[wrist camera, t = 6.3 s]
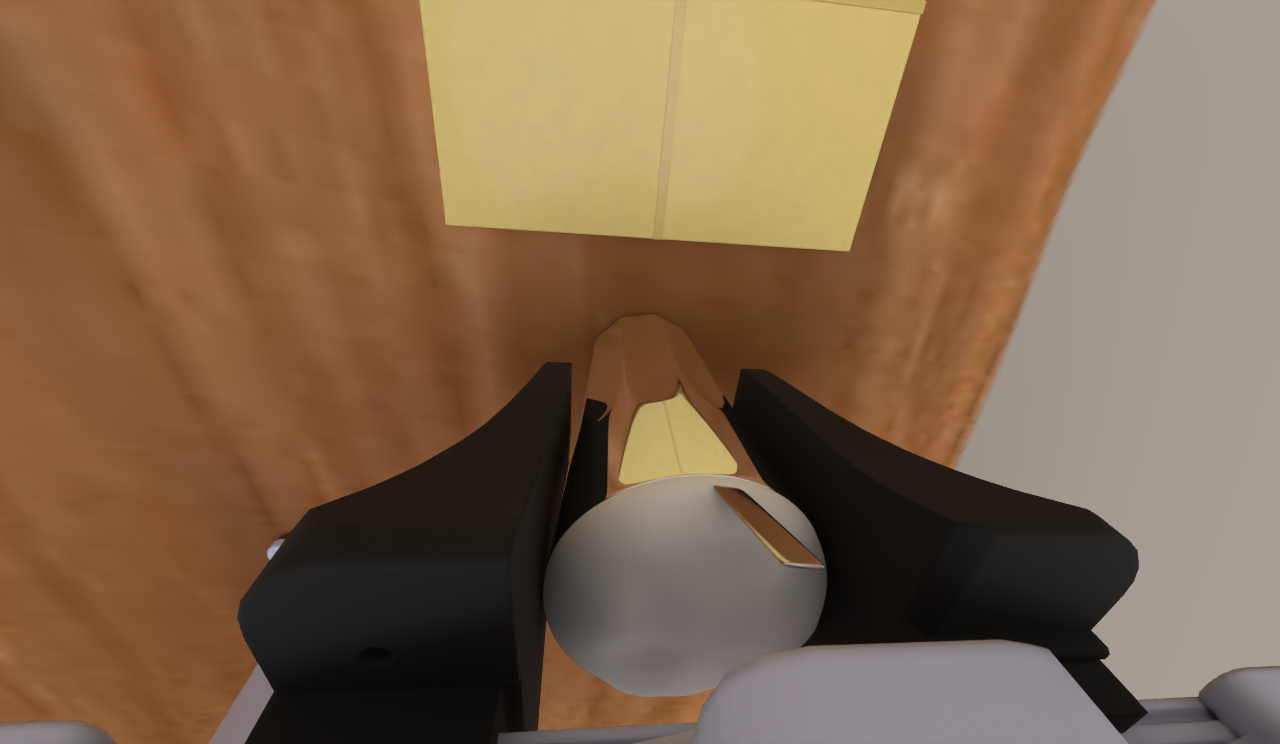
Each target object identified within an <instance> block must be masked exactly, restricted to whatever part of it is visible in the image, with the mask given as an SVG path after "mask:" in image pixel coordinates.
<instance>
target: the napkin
mask: <svg viewBox="0 0 1280 744" xmlns="http://www.w3.org/2000/svg"><path fill="white" fill-rule="evenodd" d="M419 2H420V11H421V19H422V28H423V36H424V44H425V53H426V61H427V70H428V78H429V87H430V95H431V104H432V112H433V120H434V129H435V137H436V146H437V154H438V163H439V171H440V180H441V188H442V196H443V205H444V213H445V222H446V225H451V226H467V227H482V228H497V229H512V230H528V231H543V232H558V233H573V234H588V235H604V236H619V237H634V238H649V239H655V240H662V239H665V240H680V241H695V242H710V243H725V244H741V245H756V246H771V247H786V248H802V249H817V250H832V251H847V252H848V251H850V248H851V244H852V241H853V238H854V234H855V231H856V228H857V224H858V221H859V218H860V214H861V211H862V208H863V204H864V201H865V198H866V195H867V191H868V188H869V185H870V181H871V178H872V175H873V171H874V168H875V165H876V161H877V158H878V155H879V151H880V148H881V145H882V142H883V138H884V135H885V132H886V128H887V125H888V122H889V118H890V115H891V112H892V108H893V105H894V102H895V98H896V95H897V92H898V89H899V85H900V82H901V79H902V75H903V72H904V69H905V65H906V62H907V59H908V55H909V52H910V49H911V45H912V42H913V39H914V36H915V32H916V29H917V26H918V22H919V19H920V16H921V15H922V14H923V11H924V8H925V5H926V1H925V0H419Z"/></svg>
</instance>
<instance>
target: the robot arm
mask: <svg viewBox="0 0 1280 744" xmlns="http://www.w3.org/2000/svg"><path fill="white" fill-rule="evenodd" d="M571 370H572V363H560V362H546V363H545V364H544V365H543V366H542V367H541V368H540V369H539V371H538V372H537V373H536V374H535V375H534V377H533V378H532V379H531V380H530V381H529V382H528V383H527V384H526V386H525V387H524V388H523V389H522V390H521V391H520V392H519V393H518V394H517V395H516V396H515V397H514V398H513V399H512V400H511V401H510V402H509V403H508V404H507V405H506V406H505V407H504V408H502V409H501V410H500V411H499V412H498V413H497V414H496V415H495V416H493V417H492V418H491V419H490V420H489V421H488V422H486V423H485V424H484V425H483V426H481V427H480V428H479V429H477V430H476V431H474V432H473V433H472V434H470V435H469V436H467V437H466V438H464V439H463V440H461V441H460V442H458V443H457V444H455V445H453V446H451V447H450V448H448V449H446V450H445V451H443V452H441V453H439V454H438V455H436V456H434V457H432V458H431V459H429V460H427V461H425V462H424V463H422V464H420V465H418V466H416V467H414V468H411V469H409V470H407V471H405V472H403V473H401V474H399V475H397V476H394V477H392V478H390V479H388V480H386V481H383V482H381V483H379V484H376V485H374V486H371V487H369V488H367V489H364V490H361V491H358V492H356V493H353V494H350V495H348V496H345V497H342V498H340V499H337V500H334V501H332V502H329V503H326V504H323V505H320V506H317V507H314V508H311V509H309V511H308V512H307V513H306V514H305V515H304V517H303V518H302V519H301V520H300V521H299V523H298V524H297V525H296V526H295V527H294V528H293V530H292V531H291V532H290V533H289V534H288V536H287V537H286V539H279V540H276V541H274V542H273V544H272V545H271V546H270V548H269V549H268V551H267V556H268V558H269V560H270V561H269V562H268V564H267V565H266V566H265V568H264V569H263V570H262V572H261V573H260V575H259V576H258V577H257V579H256V580H255V581H254V583H253V584H252V586H251V587H250V588H249V590H248V591H247V592H246V594H245V595H244V597H243V598H242V599H241V601H240V606H239V612H238V617H237V618H238V621H239V625H240V628H241V631H242V634H243V637H244V639H245V641H246V643H247V645H248V646H249V648H250V650H251V652H252V654H253V655H254V657H255V659H256V661H257V662H258V664H257V666H256V667H255V669H254V671H253V672H252V674H251V675H250V677H249V679H248V680H247V682H246V683H245V685H244V687H243V688H242V690H241V691H240V693H239V695H238V696H237V698H236V699H235V701H234V703H233V704H232V706H231V707H230V709H229V711H228V712H227V714H226V716H225V717H224V719H223V720H222V722H221V724H220V725H219V727H218V728H217V730H216V732H215V733H214V735H213V736H212V738H211V740H210V741H209V743H208V744H1280V666H1270V667H1247V668H1239V669H1235V670H1231V671H1229V672H1226V673H1223V674H1221V675H1220V676H1218V677H1217V678H1215V679H1213V680H1212V681H1211V682H1209V683H1208V684H1207V685H1206V686H1205V687H1204V688H1203V689H1202V690H1201V691H1200V692H1199V697H1185V698H1165V699H1146V700H1136V698H1135V697H1134V696H1133V695H1132V694H1131V693H1130V692H1129V691H1128V690H1127V689H1126V688H1125V686H1124V685H1123V684H1121V682H1120V681H1119V680H1118V679H1117V678H1116V677H1115V676H1114V675H1113V673H1112V672H1110V670H1109V669H1108V668H1107V667H1106V666H1105V665H1104V664H1103V663H1102V662H1101V661H1100V659H1106V658H1107V657H1108V655H1110V654H1109V650H1108V647H1107V646H1106V645H1105V644H1104V643H1103V642H1102V641H1101V640H1100V639H1099V638H1098V637H1097V636H1096V635H1095V634H1094V633H1093V632H1092V631H1091V630H1092V628H1093V627H1094V626H1095V625H1096V624H1097V623H1098V622H1099V621H1100V620H1101V619H1102V618H1103V617H1104V616H1105V615H1106V613H1107V612H1108V611H1109V610H1110V609H1111V608H1112V607H1113V606H1114V605H1115V604H1116V603H1117V601H1118V600H1119V599H1120V598H1121V597H1122V596H1123V595H1124V594H1125V592H1126V591H1127V590H1128V588H1129V587H1130V585H1131V584H1132V583H1133V582H1134V579H1135V577H1136V574H1137V571H1138V569H1139V561H1138V551H1137V549H1136V548H1135V547H1134V546H1133V545H1132V543H1131V542H1130V541H1129V540H1128V539H1127V538H1125V537H1124V536H1123V535H1122V534H1120V533H1119V532H1118V531H1117V530H1115V529H1114V528H1113V527H1112V526H1110V525H1109V524H1108V523H1107V522H1105V521H1104V520H1103V519H1101V518H1100V517H1099V516H1098V515H1096V514H1095V513H1093V512H1091V511H1090V510H1087V509H1084V508H1081V507H1077V506H1073V505H1069V504H1065V503H1062V502H1058V501H1054V500H1050V499H1046V498H1043V497H1039V496H1035V495H1032V494H1028V493H1024V492H1020V491H1017V490H1013V489H1010V488H1007V487H1004V486H1000V485H997V484H994V483H991V482H988V481H985V480H982V479H979V478H976V477H973V476H970V475H967V474H964V473H962V472H959V471H956V470H953V469H951V468H948V467H945V466H943V465H940V464H938V463H935V462H933V461H930V460H928V459H925V458H923V457H920V456H918V455H916V454H913V453H911V452H909V451H906V450H904V449H902V448H900V447H898V446H896V445H893V444H891V443H889V442H887V441H885V440H883V439H881V438H879V437H877V436H875V435H873V434H871V433H869V432H867V431H865V430H863V429H861V428H860V427H858V426H856V425H854V424H853V423H851V422H849V421H847V420H846V419H844V418H842V417H840V416H839V415H837V414H835V413H834V412H832V411H830V410H829V409H827V408H825V407H824V406H822V405H821V404H819V403H818V402H816V401H814V400H813V399H811V398H810V397H808V396H807V395H805V394H804V393H802V392H800V391H799V390H797V389H796V388H794V387H793V386H791V385H790V384H788V383H787V382H785V381H783V380H782V379H780V378H779V377H777V376H775V375H774V374H772V373H770V372H768V371H766V370H760V369H741V372H740V377H739V381H738V386H737V390H736V395H735V400H734V404H733V410H734V412H735V413H736V415H737V416H738V418H739V419H740V421H741V422H742V424H743V425H744V427H745V428H746V430H747V431H748V433H749V434H750V436H751V437H752V439H753V440H754V442H755V443H756V444H757V446H758V447H759V449H760V450H761V452H762V453H763V455H764V456H765V458H766V459H767V461H768V462H769V463H770V465H771V466H772V468H773V469H774V471H775V472H776V474H777V475H778V477H779V478H780V480H781V481H782V483H783V484H784V485H785V487H786V488H787V490H788V491H789V493H790V494H791V496H792V497H793V499H794V500H795V502H796V503H797V505H798V506H799V507H800V509H801V510H802V512H803V513H804V515H805V516H806V517H807V519H808V520H809V522H810V523H811V525H812V526H813V528H814V530H815V533H816V535H817V537H818V540H819V542H820V545H821V548H822V551H823V554H824V558H825V563H826V569H827V589H826V597H825V601H824V605H823V609H822V612H821V615H820V618H819V621H818V624H817V627H816V629H815V631H814V632H813V634H812V635H811V636H810V638H809V639H808V640H807V641H806V642H805V643H804V644H803V645H802V646H801V647H800V648H795V649H789V650H784V651H778V652H773V653H768V654H763V655H761V656H759V657H757V658H755V659H753V660H751V661H750V662H748V663H746V664H744V665H742V666H740V667H738V668H736V669H734V670H732V671H730V672H728V673H727V674H726V675H725V676H724V678H723V679H722V680H721V682H720V683H719V684H718V685H717V687H716V688H715V689H714V691H713V692H712V693H711V695H710V696H709V697H708V699H707V700H706V702H705V703H704V705H703V706H702V709H701V712H700V716H699V719H698V723H682V724H663V725H644V726H624V727H605V728H586V729H566V730H547V731H538V719H539V706H540V693H541V680H542V667H543V654H544V642H545V630H546V615H545V610H544V603H543V586H544V578H545V573H546V569H547V565H548V560H549V555H550V550H551V546H552V542H553V537H554V533H555V528H556V524H557V520H558V515H559V511H560V506H561V501H562V496H563V491H564V485H565V480H566V475H567V469H568V464H569V450H570V435H571ZM0 744H116V743H115V741H114V740H113V738H112V737H111V736H110V735H109V734H108V733H107V732H106V731H104V730H103V729H101V728H100V727H98V726H96V725H93V724H89V723H86V722H82V721H73V720H48V721H25V722H3V723H0Z"/></svg>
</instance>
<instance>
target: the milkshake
mask: <svg viewBox="0 0 1280 744" xmlns="http://www.w3.org/2000/svg"><path fill="white" fill-rule="evenodd" d="M826 589H827V569H826V563H825V558H824V554H823V551H822V548H821V545H820V542H819V540H818V537H817V535H816V533H815V530H814V528H813V526H812V525H811V523H810V522H809V520H808V519H807V517H806V516H805V515H804V513H803V512H802V510H801V509H800V507H799V506H798V505H797V503H796V502H795V500H794V499H793V497H792V496H791V494H790V493H789V491H788V490H787V488H786V487H785V485H784V484H783V483H782V481H781V480H780V478H779V477H778V475H777V474H776V472H775V471H774V469H773V468H772V466H771V465H770V463H769V462H768V461H767V459H766V458H765V456H764V455H763V453H762V452H761V450H760V449H759V447H758V446H757V444H756V443H755V442H754V440H753V439H752V437H751V436H750V434H749V433H748V431H747V430H746V428H745V427H744V425H743V424H742V422H741V421H740V419H739V418H738V416H737V415H736V413H735V412H734V410H733V409H732V407H731V405H730V404H729V402H728V401H727V399H726V397H725V396H724V394H723V392H722V391H721V389H720V388H719V386H718V384H717V383H716V381H715V379H714V378H713V376H712V375H711V373H710V371H709V370H708V368H707V366H706V365H705V363H704V362H703V360H702V358H701V357H700V355H699V353H698V352H697V350H696V349H695V347H694V345H693V344H692V342H691V340H690V339H689V337H688V336H687V334H686V332H685V331H684V329H683V328H681V327H679V326H677V325H675V324H673V323H671V322H669V321H668V320H666V319H664V318H662V317H660V316H658V315H657V314H655V313H654V314H646V315H637V316H628V317H621V318H620V319H618V320H617V321H616V322H615V323H614V324H613V325H611V326H610V327H609V328H608V329H607V330H606V331H604V332H603V333H602V334H601V335H600V336H599V337H597V338H596V341H595V346H594V351H593V356H592V361H591V366H590V370H589V376H588V382H587V388H586V393H585V399H584V405H583V411H582V417H581V423H580V429H579V434H578V440H577V443H576V447H575V450H574V454H573V457H572V461H571V464H570V468H569V472H568V476H567V481H566V485H565V489H564V493H563V498H562V502H561V507H560V511H559V515H558V520H557V524H556V528H555V533H554V537H553V542H552V546H551V550H550V555H549V560H548V565H547V569H546V573H545V578H544V586H543V603H544V610H545V615H546V619H547V622H548V624H549V627H550V629H551V632H552V633H553V635H554V637H555V639H556V641H557V642H558V644H559V645H560V647H561V648H562V649H563V650H564V651H565V652H566V654H567V655H568V656H569V657H570V658H572V659H573V660H574V661H575V662H576V663H577V664H578V665H580V666H581V667H582V668H583V669H585V670H586V671H587V672H589V673H590V674H592V675H594V676H596V677H597V678H599V679H601V680H602V681H604V682H606V683H607V684H609V685H611V686H612V687H614V688H616V689H618V690H620V691H622V692H624V693H627V694H630V695H634V696H641V697H652V696H688V695H693V694H697V693H700V692H703V691H706V690H709V689H712V688H716V687H717V685H718V684H719V683H720V682H721V680H722V679H723V678H724V676H725V675H726V674H727V673H728V672H730V671H732V670H734V669H736V668H738V667H740V666H742V665H744V664H746V663H748V662H750V661H751V660H753V659H755V658H757V657H759V656H761V655H763V654H768V653H773V652H778V651H784V650H789V649H795V648H800V647H801V646H802V645H803V644H804V643H805V642H806V641H807V640H808V639H809V638H810V636H811V635H812V634H813V632H814V631H815V629H816V627H817V624H818V621H819V618H820V615H821V612H822V609H823V605H824V601H825V597H826Z"/></svg>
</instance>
